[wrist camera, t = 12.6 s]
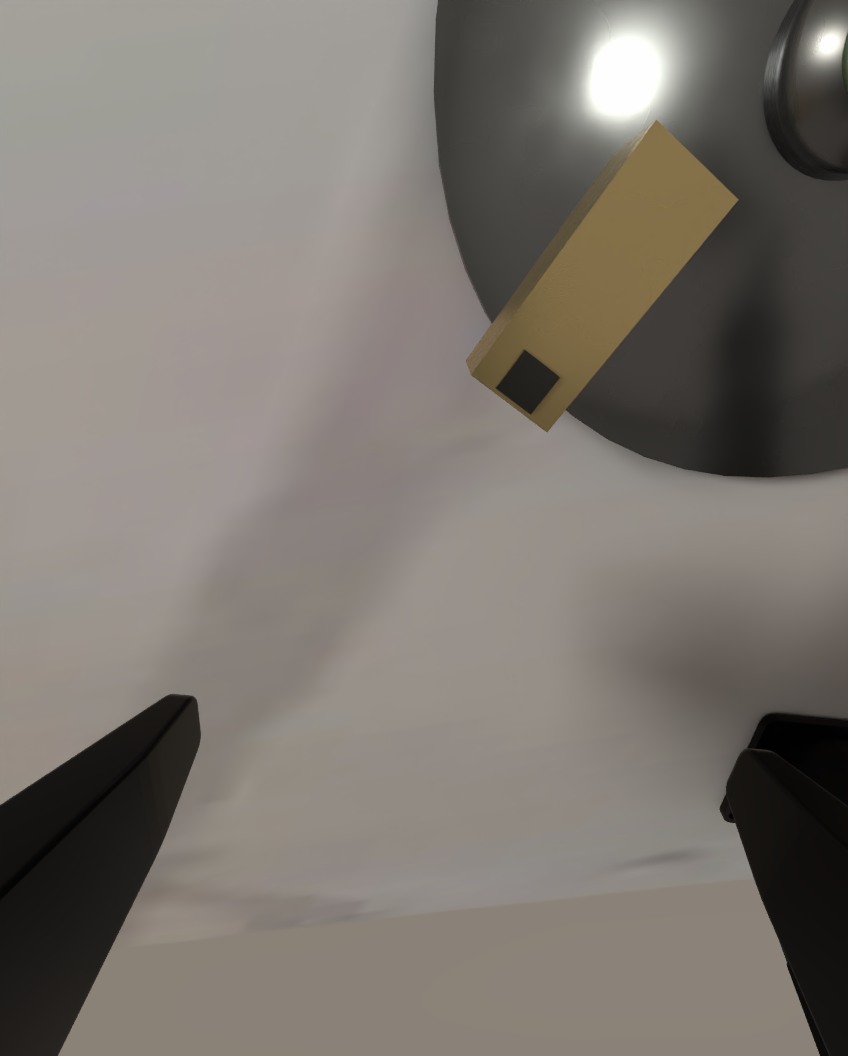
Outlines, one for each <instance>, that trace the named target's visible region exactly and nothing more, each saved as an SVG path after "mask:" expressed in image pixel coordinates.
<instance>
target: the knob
mask: <svg viewBox="0 0 848 1056" xmlns="http://www.w3.org/2000/svg"><path fill="white" fill-rule="evenodd" d="M738 200H739V199H737V198H736V197H735V196H734V195H733V194H732V193H731V192H730V191H729V190H728V189H727V188H726V187H725V186H724V185H723V184H722V183H721V182H720V181H719V180H718V179H717V178H716V177H715V176H714V175H713V174H712V173H711V172H710V171H709V170H708V169H707V168H706V167H705V166H704V165H703V164H702V163H701V162H700V161H699V160H697V159H696V158H695V157H694V156H693V155H692V154H691V153H690V152H689V151H688V150H687V149H686V148H685V147H684V146H683V145H682V144H681V143H680V142H679V141H678V140H677V139H676V138H675V137H674V136H673V135H672V134H671V133H670V132H669V131H668V130H667V129H666V128H665V127H664V126H663V125H662V124H661V123H660V122H659V121H658V120H655V121H654V122H653V123H651V124H650V125H649V126H648V127H647V128H645V129H644V130H643V131H642V132H640V133H639V134H638V135H637V136H636V137H634V138H633V139H632V140H631V141H630V142H628V143H627V144H626V145H625V146H624V147H622V148H621V149H620V150H619V151H618V152H616V153H615V154H614V155H613V156H612V157H611V158H610V159H609V161H608V162H607V164H606V165H605V166H604V168H603V169H602V171H601V172H600V173H599V175H598V176H597V178H596V179H595V180H594V182H593V183H592V185H591V186H590V187H589V189H588V190H587V192H586V193H585V194H584V196H583V197H582V199H581V200H580V201H579V203H578V204H577V206H576V207H575V208H574V210H573V211H572V213H571V214H570V215H569V217H568V218H567V220H566V221H565V222H564V224H563V225H562V227H561V228H560V229H559V231H558V232H557V234H556V235H555V236H554V238H553V239H552V241H551V242H550V243H549V245H548V246H547V248H546V249H545V250H544V252H543V253H542V255H541V256H540V257H539V259H538V260H537V262H536V263H535V264H534V266H533V267H532V269H531V270H530V271H529V273H528V274H527V276H526V277H525V278H524V280H523V281H522V283H521V284H520V285H519V287H518V288H517V290H516V291H515V292H514V294H513V295H512V297H511V298H510V299H509V301H508V302H507V304H506V305H505V306H504V308H503V309H502V311H501V312H500V313H499V315H498V316H497V318H496V319H495V320H494V322H493V323H492V325H491V326H490V327H489V329H488V330H487V332H486V333H485V334H484V336H483V337H482V339H481V340H480V341H479V343H478V344H477V346H476V347H475V348H474V350H473V351H472V353H471V354H470V355H469V357H468V358H467V360H466V363H467V366H468V368H469V371H470V374H471V375H472V376H473V377H474V378H476V379H477V380H478V381H480V382H481V383H482V384H484V385H485V386H486V387H488V388H489V389H490V390H492V391H493V392H494V393H496V394H497V395H498V396H500V397H501V398H502V399H503V400H505V401H506V402H507V403H509V404H510V405H511V406H513V407H514V408H515V409H517V410H518V411H519V412H521V413H522V414H523V415H525V416H526V417H527V418H529V419H530V420H531V421H533V422H534V423H535V424H537V425H538V426H539V427H541V428H542V429H543V430H545V431H546V432H548V431H549V429H550V428H551V427H552V426H553V424H554V423H555V422H556V421H557V420H558V418H559V417H560V416H561V415H562V414H563V412H564V411H565V410H566V409H567V407H568V406H569V405H570V404H571V403H572V401H573V400H574V399H575V398H576V397H577V395H578V394H579V393H580V392H581V390H582V389H583V388H584V387H585V386H586V384H587V383H588V382H589V381H590V380H591V378H592V377H593V376H594V375H595V373H596V372H597V371H598V370H599V369H600V367H601V366H602V365H603V364H604V363H605V361H606V360H607V359H608V358H609V356H610V355H611V354H612V353H613V352H614V350H615V349H616V348H617V347H618V346H619V344H620V343H621V342H622V341H623V339H624V338H625V337H626V336H627V335H628V333H629V332H630V331H631V330H632V329H633V327H634V326H635V325H636V324H637V322H638V321H639V320H640V319H641V318H642V316H643V315H644V314H645V313H646V312H647V310H648V309H649V308H650V307H651V305H652V304H653V303H654V302H655V301H656V299H657V298H658V297H659V296H660V295H661V293H662V292H663V291H664V290H665V288H666V287H667V286H668V285H669V284H670V282H671V281H672V280H673V279H674V278H675V276H676V275H677V274H678V273H679V271H680V270H681V269H682V268H683V267H684V265H685V264H686V263H687V262H688V261H689V259H690V258H691V257H692V256H693V254H694V253H695V252H696V251H697V250H698V248H699V247H700V246H701V245H702V244H703V242H704V241H705V240H706V239H707V237H708V236H709V235H710V234H711V233H712V231H713V230H714V229H715V228H716V227H717V225H718V224H719V223H720V222H721V220H722V219H723V218H724V217H725V216H726V214H727V213H728V212H729V211H730V210H731V208H732V207H733V206H734V205H735V203H736V202H737V201H738Z"/></svg>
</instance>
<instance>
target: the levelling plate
mask: <svg viewBox="0 0 848 1056" xmlns="http://www.w3.org/2000/svg"><path fill="white" fill-rule="evenodd" d="M434 104H435V118H436V130H437V143H438V156H439V167H440V172H441V178H442V183H443V188H444V193H445V199H446V204H447V209H448V214H449V220H450V223H451V226H452V229H453V233H454V236H455V239H456V242H457V245H458V248H459V252H460V255H461V258H462V261H463V264H464V267H465V270H466V272H467V275H468V277H469V279H470V281H471V283H472V285H473V288H474V290H475V292H476V294H477V296H478V299H479V301H480V303H481V305H482V307H483V309H484V312H485V313H486V315H487V317H488V318H489V320H490V321H491V323H493V322H494V320H495V319H496V318H497V316H498V315H499V313H500V312H501V311H502V309H503V308H504V306H505V305H506V304H507V302H508V301H509V299H510V298H511V297H512V295H513V294H514V292H515V291H516V290H517V288H518V287H519V285H520V284H521V283H522V281H523V280H524V278H525V277H526V276H527V274H528V273H529V271H530V270H531V269H532V267H533V266H534V264H535V263H536V262H537V260H538V259H539V257H540V256H541V255H542V253H543V252H544V250H545V249H546V248H547V246H548V245H549V243H550V242H551V241H552V239H553V238H554V236H555V235H556V234H557V232H558V231H559V229H560V228H561V227H562V225H563V224H564V222H565V221H566V220H567V218H568V217H569V215H570V214H571V213H572V211H573V210H574V208H575V207H576V206H577V204H578V203H579V201H580V200H581V199H582V197H583V196H584V194H585V193H586V192H587V190H588V189H589V187H590V186H591V185H592V183H593V182H594V180H595V179H596V178H597V176H598V175H599V173H600V172H601V171H602V169H603V168H604V166H605V165H606V164H607V162H608V161H609V159H610V158H611V157H612V156H613V155H614V154H615V153H616V152H618V151H619V150H620V149H621V148H622V147H624V146H625V145H626V144H627V143H628V142H630V141H631V140H632V139H633V138H634V137H636V136H637V135H638V134H639V133H640V132H642V131H643V130H644V129H645V128H647V127H648V126H649V125H650V124H651V123H653V122H654V121H655V120H658V121H659V122H660V123H661V124H662V125H663V126H664V127H665V128H666V129H667V130H668V131H669V132H670V133H671V134H672V135H673V136H674V137H675V138H676V139H677V140H678V141H679V142H680V143H681V144H682V145H683V146H684V147H685V148H686V149H687V150H688V151H689V152H690V153H691V154H692V155H693V156H694V157H695V158H696V159H697V160H699V161H700V162H701V163H702V164H703V165H704V166H705V167H706V168H707V169H708V170H709V171H710V172H711V173H712V174H713V175H714V176H715V177H716V178H717V179H718V180H719V181H720V182H721V183H722V184H723V185H724V186H725V187H726V188H727V189H728V190H729V191H730V192H731V193H732V194H733V195H734V196H735V197H736V198H737V199H739V200H738V201H737V202H736V203H735V205H734V206H733V207H732V208H731V210H730V211H729V212H728V213H727V214H726V216H725V217H724V218H723V219H722V220H721V222H720V223H719V224H718V225H717V227H716V228H715V229H714V230H713V231H712V233H711V234H710V235H709V236H708V237H707V239H706V240H705V241H704V242H703V244H702V245H701V246H700V247H699V248H698V250H697V251H696V252H695V253H694V254H693V256H692V257H691V258H690V259H689V261H688V262H687V263H686V264H685V265H684V267H683V268H682V269H681V270H680V271H679V273H678V274H677V275H676V276H675V278H674V279H673V280H672V281H671V282H670V284H669V285H668V286H667V287H666V288H665V290H664V291H663V292H662V293H661V295H660V296H659V297H658V298H657V299H656V301H655V302H654V303H653V304H652V305H651V307H650V308H649V309H648V310H647V312H646V313H645V314H644V315H643V316H642V318H641V319H640V320H639V321H638V322H637V324H636V325H635V326H634V327H633V329H632V330H631V331H630V332H629V333H628V335H627V336H626V337H625V338H624V339H623V341H622V342H621V343H620V344H619V346H618V347H617V348H616V349H615V350H614V352H613V353H612V354H611V355H610V356H609V358H608V359H607V360H606V361H605V363H604V364H603V365H602V366H601V367H600V369H599V370H598V371H597V372H596V373H595V375H594V376H593V377H592V378H591V380H590V381H589V382H588V383H587V384H586V386H585V387H584V388H583V389H582V390H581V392H580V393H579V394H578V395H577V397H576V398H575V399H574V400H573V401H572V403H571V404H570V405H569V406H568V407H567V409H566V410H567V411H568V412H569V413H570V414H571V415H572V416H574V417H575V418H577V419H578V420H580V421H581V422H583V423H584V424H586V425H587V426H589V427H590V428H592V429H593V430H595V431H596V432H598V433H599V434H601V435H602V436H604V437H605V438H607V439H608V440H610V441H613V442H615V443H617V444H619V445H621V446H623V447H625V448H627V449H629V450H632V451H634V452H636V453H638V454H640V455H642V456H644V457H647V458H650V459H654V460H657V461H660V462H663V463H666V464H670V465H673V466H676V467H679V468H683V469H687V470H693V471H699V472H705V473H711V474H717V475H723V476H745V477H778V476H790V475H802V474H813V473H818V472H823V471H828V470H833V469H838V468H843V467H848V0H438V7H437V15H436V35H435V71H434Z"/></svg>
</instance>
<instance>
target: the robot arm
mask: <svg viewBox="0 0 848 1056" xmlns="http://www.w3.org/2000/svg"><path fill="white" fill-rule="evenodd" d="M200 739H201V730H200V721H199V712H198V704H197V700H196V698H195V697H193V696H190V695H179V694H170V695H167V696H165V697H164V698H162V699H161V700H159V701H158V702H156V703H154V704H153V705H151V706H150V707H148V708H147V709H145V710H144V711H142V712H141V713H139V714H138V715H136V716H135V717H133V718H132V719H130V720H129V721H127V722H126V723H124V724H123V725H121V726H120V727H118V728H117V729H115V730H113V731H112V732H110V733H109V734H107V735H106V736H104V737H103V738H101V739H100V740H98V741H97V742H95V743H94V744H92V745H91V746H89V747H88V748H86V749H85V750H83V751H82V752H80V753H79V754H77V755H76V756H74V757H72V758H71V759H69V760H68V761H66V762H65V763H63V764H62V765H60V766H59V767H57V768H56V769H54V770H53V771H51V772H50V773H48V774H47V775H45V776H44V777H42V778H41V779H39V780H38V781H36V782H34V783H33V784H31V785H30V786H28V787H27V788H25V789H24V790H22V791H21V792H19V793H18V794H16V795H15V796H13V797H12V798H10V799H9V800H7V801H6V802H4V803H3V804H1V805H0V1056H58V1054H59V1052H60V1050H61V1048H62V1046H63V1044H64V1042H65V1040H66V1038H67V1036H68V1034H69V1032H70V1030H71V1028H72V1026H73V1024H74V1022H75V1020H76V1018H77V1016H78V1014H79V1012H80V1010H81V1007H82V1006H83V1004H84V1002H85V1000H86V998H87V996H88V994H89V991H90V990H91V988H92V985H93V984H94V981H95V979H96V977H97V975H98V973H99V971H100V969H101V967H102V965H103V963H104V961H105V959H106V957H107V955H108V953H109V951H110V949H111V947H112V945H113V943H114V941H115V939H116V937H117V935H118V933H119V931H120V929H121V927H122V925H123V923H124V921H125V919H126V917H127V915H128V913H129V911H130V909H131V907H132V905H133V903H134V901H135V899H136V897H137V894H138V892H139V890H140V888H141V886H142V884H143V882H144V880H145V878H146V876H147V874H148V872H149V870H150V868H151V866H152V864H153V862H154V860H155V858H156V856H157V854H158V851H159V849H160V847H161V845H162V843H163V840H164V838H165V835H166V833H167V830H168V828H169V825H170V823H171V820H172V817H173V815H174V812H175V809H176V807H177V804H178V801H179V799H180V796H181V793H182V791H183V788H184V785H185V783H186V780H187V777H188V775H189V772H190V769H191V767H192V764H193V761H194V759H195V756H196V753H197V751H198V748H199V744H200ZM720 812H721V814H722V816H723V818H724V820H725V821H727V822H730V823H736V826H737V829H738V832H739V835H740V838H741V841H742V844H743V847H744V850H745V853H746V856H747V859H748V862H749V865H750V868H751V871H752V874H753V877H754V880H755V882H756V885H757V888H758V891H759V893H760V896H761V899H762V901H763V904H764V906H765V909H766V911H767V913H768V916H769V918H770V921H771V923H772V925H773V927H774V929H775V932H776V934H777V937H778V939H779V942H780V944H781V947H782V950H783V952H784V955H785V958H786V961H787V967H788V970H789V973H790V975H791V978H792V981H793V984H794V986H795V989H796V992H797V994H798V997H799V1000H800V1002H801V1005H802V1008H803V1011H804V1013H805V1016H806V1019H807V1022H808V1024H809V1027H810V1030H811V1032H812V1035H813V1038H814V1041H815V1043H816V1046H817V1048H818V1051H819V1054H820V1056H848V721H842V720H832V719H821V718H811V717H801V716H790V715H780V714H770V715H767V716H765V717H763V718H762V719H761V721H760V722H759V724H758V726H757V729H756V731H755V733H754V735H753V737H752V739H751V741H750V744H749V746H748V748H747V749H744V750H743V751H742V752H741V753H740V755H739V757H738V759H737V761H736V763H735V766H734V768H733V770H732V772H731V774H730V777H729V779H728V781H727V785H726V795H725V797H724V799H723V802H722V804H721V806H720Z"/></svg>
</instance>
